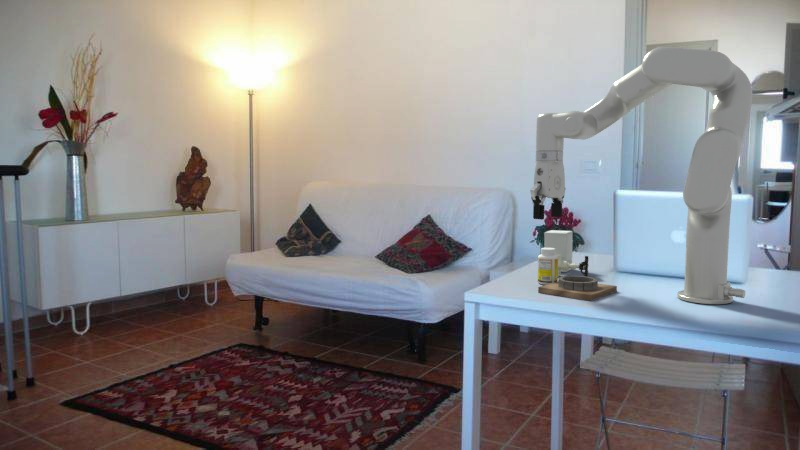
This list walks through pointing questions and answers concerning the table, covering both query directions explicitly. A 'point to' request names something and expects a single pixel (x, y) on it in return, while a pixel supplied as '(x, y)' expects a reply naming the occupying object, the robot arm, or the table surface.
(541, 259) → the supplement bottle
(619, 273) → the table surface
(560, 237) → the supplement box
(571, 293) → the collar plate
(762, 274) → the table surface
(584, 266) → the valve
